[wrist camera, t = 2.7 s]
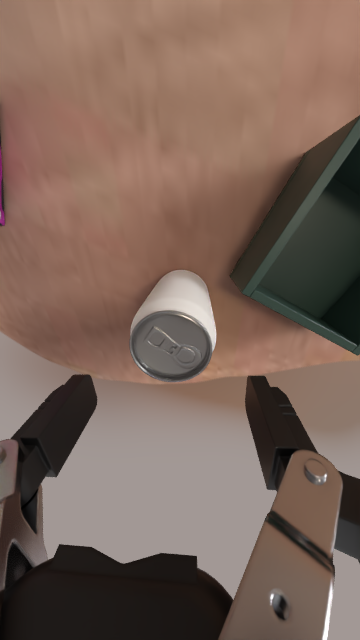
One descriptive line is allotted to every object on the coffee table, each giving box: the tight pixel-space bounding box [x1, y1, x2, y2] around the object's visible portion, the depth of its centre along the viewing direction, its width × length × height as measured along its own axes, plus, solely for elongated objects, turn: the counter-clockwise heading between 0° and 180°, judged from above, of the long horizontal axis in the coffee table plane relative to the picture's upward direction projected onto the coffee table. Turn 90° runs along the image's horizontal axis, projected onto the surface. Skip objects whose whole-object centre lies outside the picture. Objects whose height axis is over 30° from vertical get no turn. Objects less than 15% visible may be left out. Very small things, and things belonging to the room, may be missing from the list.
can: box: [129, 270, 216, 382], centre depth 19 cm, size 6×6×12 cm
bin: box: [230, 115, 360, 355], centre depth 19 cm, size 13×13×7 cm
